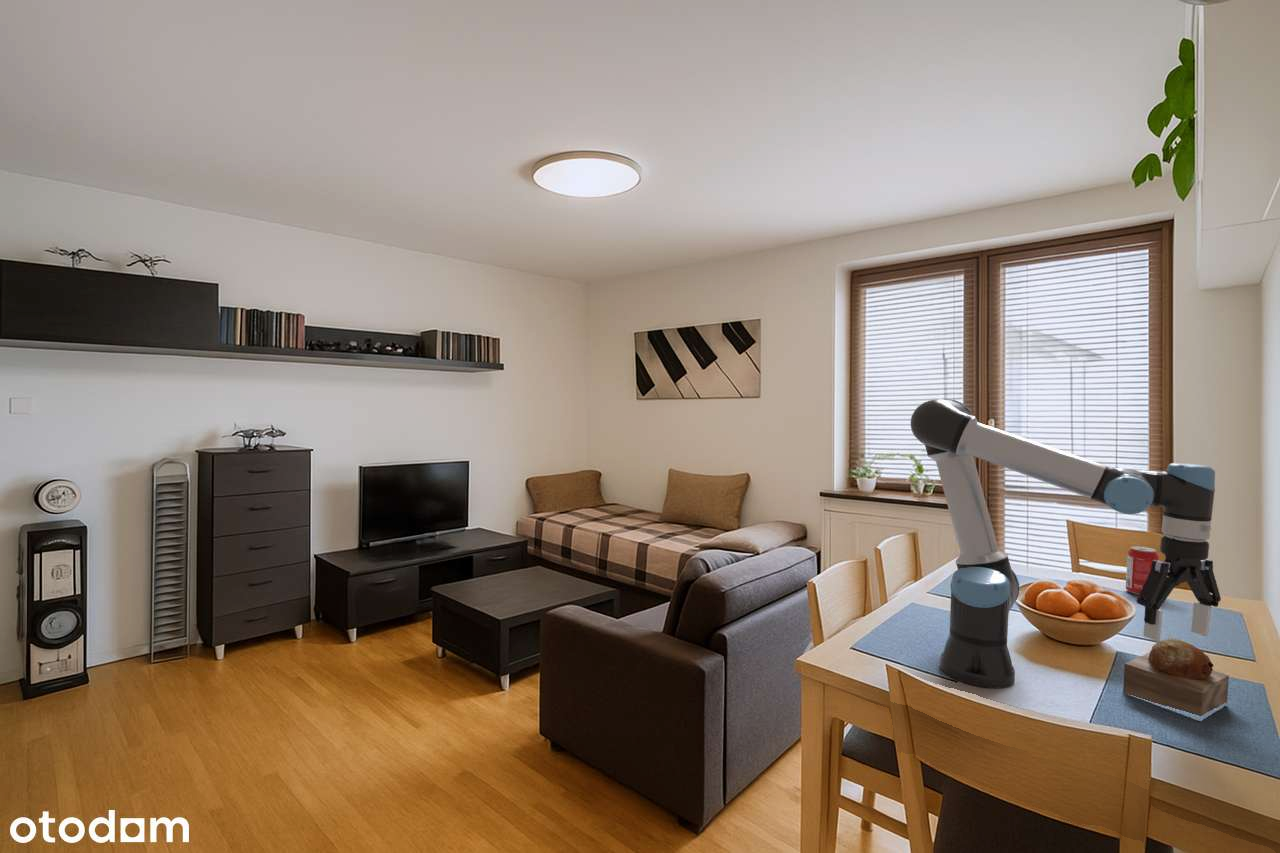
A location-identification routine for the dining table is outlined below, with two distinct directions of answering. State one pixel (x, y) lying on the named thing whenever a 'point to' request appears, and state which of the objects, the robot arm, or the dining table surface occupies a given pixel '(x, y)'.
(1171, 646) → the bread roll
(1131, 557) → the soda can
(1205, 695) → the walnut box
